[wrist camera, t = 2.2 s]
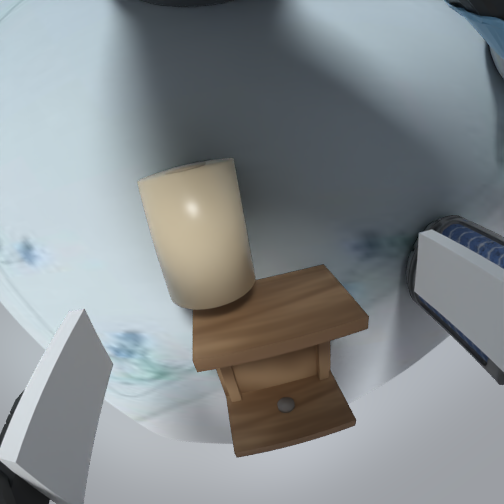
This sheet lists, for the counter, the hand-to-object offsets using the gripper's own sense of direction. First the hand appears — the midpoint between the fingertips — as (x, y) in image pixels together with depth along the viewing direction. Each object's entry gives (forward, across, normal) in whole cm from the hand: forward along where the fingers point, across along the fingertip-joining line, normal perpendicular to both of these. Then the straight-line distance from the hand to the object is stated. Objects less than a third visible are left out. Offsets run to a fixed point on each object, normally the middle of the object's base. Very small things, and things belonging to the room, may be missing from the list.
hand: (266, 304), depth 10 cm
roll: (+10, -2, 0) cm, 10 cm away
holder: (+12, +1, -12) cm, 18 cm away
